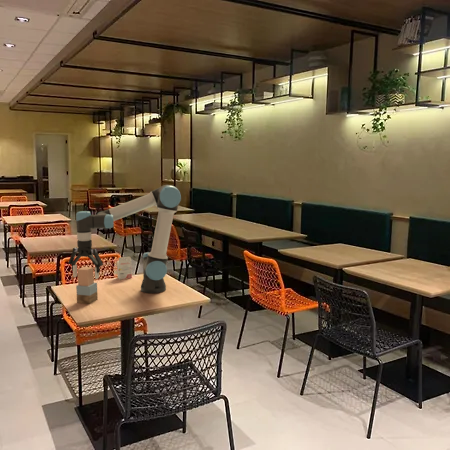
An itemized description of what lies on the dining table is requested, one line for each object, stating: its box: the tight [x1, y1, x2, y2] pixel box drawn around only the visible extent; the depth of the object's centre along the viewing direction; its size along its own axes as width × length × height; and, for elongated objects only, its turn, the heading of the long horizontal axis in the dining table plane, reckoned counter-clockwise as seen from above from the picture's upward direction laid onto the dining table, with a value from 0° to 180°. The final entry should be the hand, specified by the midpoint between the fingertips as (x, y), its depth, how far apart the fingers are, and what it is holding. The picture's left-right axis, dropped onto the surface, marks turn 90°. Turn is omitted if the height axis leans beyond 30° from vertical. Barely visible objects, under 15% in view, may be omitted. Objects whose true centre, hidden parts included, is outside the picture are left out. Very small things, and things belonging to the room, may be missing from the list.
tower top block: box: [76, 282, 98, 296], centre depth 249 cm, size 8×8×5 cm
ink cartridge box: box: [116, 256, 133, 280], centre depth 298 cm, size 9×5×15 cm, turn 118°
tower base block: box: [76, 291, 98, 305], centre depth 249 cm, size 8×8×5 cm
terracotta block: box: [77, 266, 95, 286], centre depth 247 cm, size 6×6×9 cm
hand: (86, 277), depth 247 cm, fingers open, 13 cm apart
